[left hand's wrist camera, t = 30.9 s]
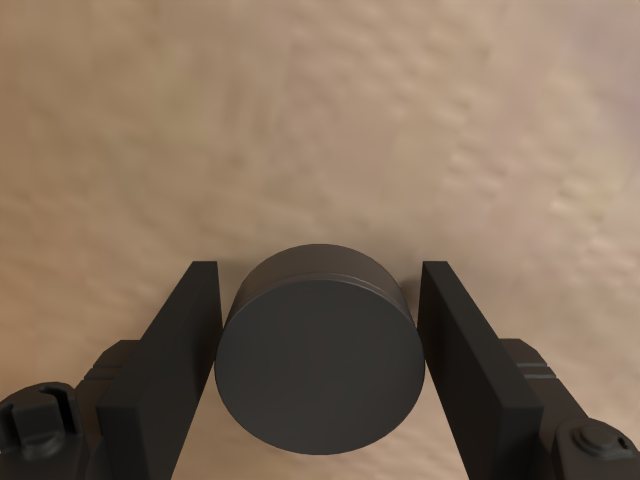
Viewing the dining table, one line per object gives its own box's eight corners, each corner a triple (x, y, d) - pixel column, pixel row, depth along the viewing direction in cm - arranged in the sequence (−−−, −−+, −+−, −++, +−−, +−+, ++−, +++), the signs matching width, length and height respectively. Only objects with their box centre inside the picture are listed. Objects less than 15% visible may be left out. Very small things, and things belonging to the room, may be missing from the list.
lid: (292, 207, 12) (286, 236, 10) (444, 303, 13) (469, 349, 11) (199, 346, 13) (176, 398, 11) (342, 423, 15) (345, 484, 12)
